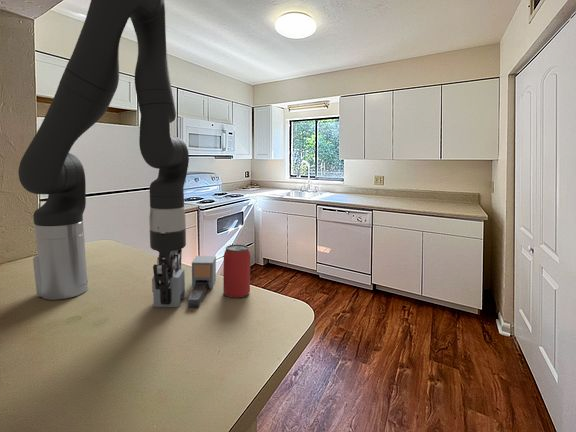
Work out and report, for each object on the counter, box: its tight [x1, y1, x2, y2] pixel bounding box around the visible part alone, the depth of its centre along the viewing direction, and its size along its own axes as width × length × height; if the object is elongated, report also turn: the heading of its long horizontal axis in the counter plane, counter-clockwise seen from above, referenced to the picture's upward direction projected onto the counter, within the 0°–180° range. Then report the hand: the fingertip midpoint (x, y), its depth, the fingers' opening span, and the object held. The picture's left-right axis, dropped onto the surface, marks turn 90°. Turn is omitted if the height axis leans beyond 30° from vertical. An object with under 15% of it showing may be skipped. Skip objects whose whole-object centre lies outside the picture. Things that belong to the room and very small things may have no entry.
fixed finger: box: [191, 255, 217, 290], centre depth 84 cm, size 5×6×7 cm
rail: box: [187, 280, 209, 309], centre depth 79 cm, size 2×16×2 cm, turn 5°
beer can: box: [222, 244, 252, 299], centre depth 79 cm, size 7×7×12 cm
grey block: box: [151, 268, 186, 308], centre depth 73 cm, size 5×6×7 cm
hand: (169, 297), depth 73 cm, fingers closed on grey block, 5 cm apart
